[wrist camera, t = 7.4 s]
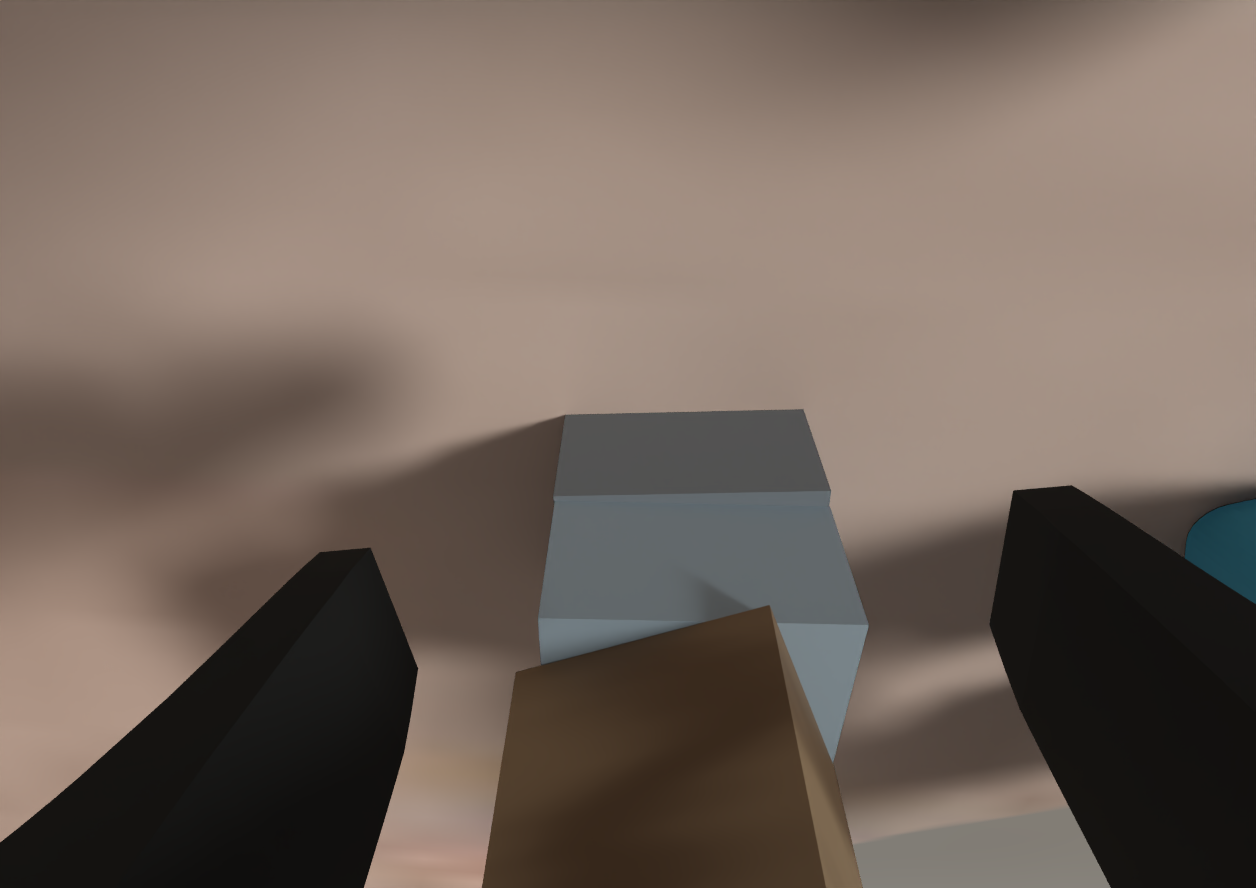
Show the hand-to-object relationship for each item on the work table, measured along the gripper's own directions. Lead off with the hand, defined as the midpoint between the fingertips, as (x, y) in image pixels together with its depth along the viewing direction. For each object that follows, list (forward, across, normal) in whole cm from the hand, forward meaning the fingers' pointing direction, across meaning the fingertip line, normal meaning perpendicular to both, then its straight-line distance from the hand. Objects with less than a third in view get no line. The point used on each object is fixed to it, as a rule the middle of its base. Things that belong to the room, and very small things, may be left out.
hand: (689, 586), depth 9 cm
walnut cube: (+3, 0, +7) cm, 8 cm away
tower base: (+10, 0, +7) cm, 13 cm away
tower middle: (+7, 0, +7) cm, 10 cm away
